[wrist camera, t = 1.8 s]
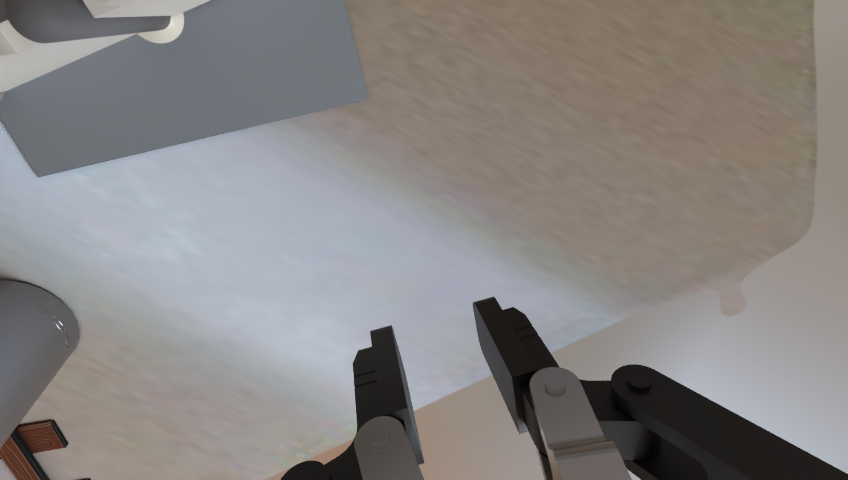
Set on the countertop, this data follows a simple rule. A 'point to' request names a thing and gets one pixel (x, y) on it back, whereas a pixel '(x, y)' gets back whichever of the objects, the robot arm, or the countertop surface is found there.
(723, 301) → the countertop surface
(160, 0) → the hinged fence panel
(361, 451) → the robot arm
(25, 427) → the decorative fence
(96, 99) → the card
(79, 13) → the fixed fence panel
